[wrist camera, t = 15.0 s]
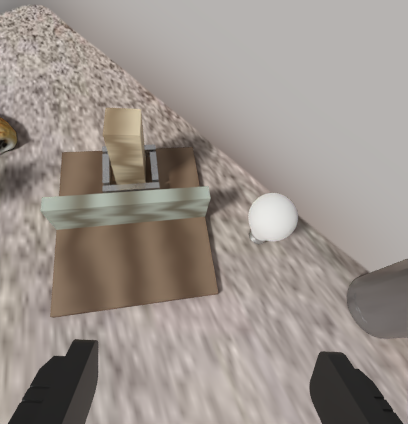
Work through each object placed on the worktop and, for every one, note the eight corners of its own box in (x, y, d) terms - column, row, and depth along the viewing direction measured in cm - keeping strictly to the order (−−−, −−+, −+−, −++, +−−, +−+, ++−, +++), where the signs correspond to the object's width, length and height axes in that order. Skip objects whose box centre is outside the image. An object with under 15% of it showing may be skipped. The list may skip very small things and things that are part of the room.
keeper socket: (155, 152, 49) (155, 144, 47) (159, 193, 45) (159, 187, 44) (104, 154, 47) (102, 146, 46) (104, 197, 44) (102, 191, 42)
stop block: (145, 163, 48) (141, 109, 37) (145, 185, 46) (140, 135, 35) (118, 162, 47) (105, 107, 36) (117, 185, 45) (102, 134, 34)
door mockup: (192, 150, 51) (196, 122, 45) (217, 294, 40) (226, 283, 34) (64, 156, 47) (49, 126, 41) (53, 317, 36) (30, 310, 30)
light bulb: (229, 243, 44) (248, 213, 34) (246, 211, 47) (267, 175, 37) (267, 264, 43) (297, 239, 34) (281, 230, 46) (313, 198, 37)
